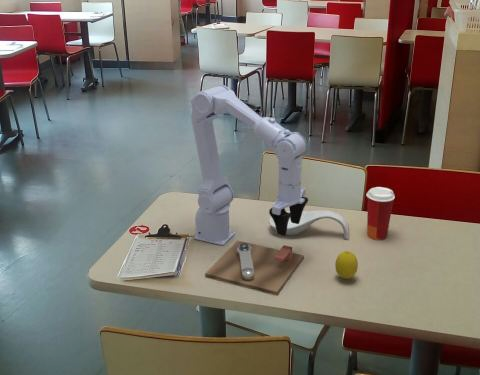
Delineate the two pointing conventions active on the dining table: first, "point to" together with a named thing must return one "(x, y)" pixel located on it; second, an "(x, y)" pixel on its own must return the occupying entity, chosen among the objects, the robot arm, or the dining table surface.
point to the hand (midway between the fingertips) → (288, 228)
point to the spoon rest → (310, 218)
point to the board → (256, 269)
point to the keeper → (284, 253)
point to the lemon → (346, 264)
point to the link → (246, 261)
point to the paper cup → (379, 212)
